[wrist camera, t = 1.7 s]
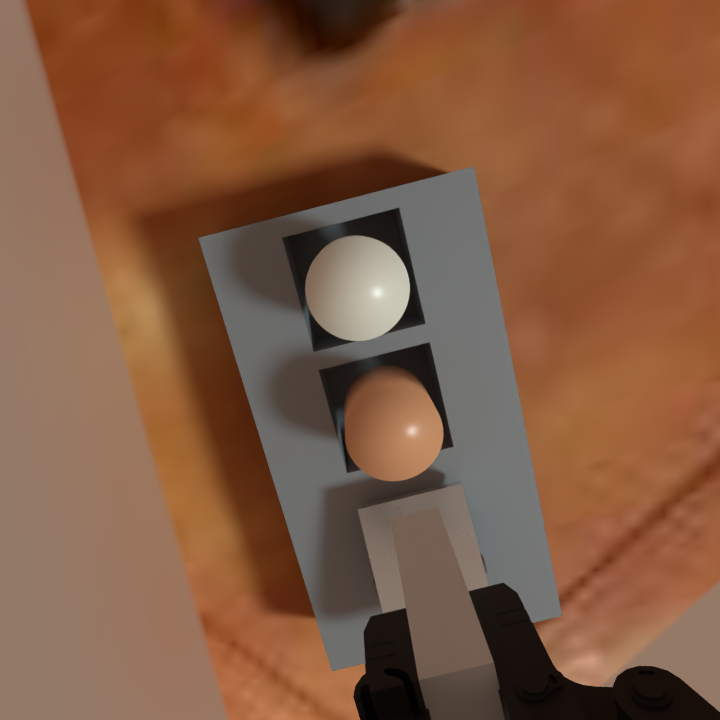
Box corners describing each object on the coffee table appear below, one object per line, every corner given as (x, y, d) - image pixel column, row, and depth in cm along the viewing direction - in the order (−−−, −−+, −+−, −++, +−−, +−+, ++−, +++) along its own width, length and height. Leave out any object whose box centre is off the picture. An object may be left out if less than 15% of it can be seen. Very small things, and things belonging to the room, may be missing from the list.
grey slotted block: (217, 236, 33) (192, 238, 27) (455, 174, 32) (479, 163, 27) (332, 620, 39) (331, 686, 33) (536, 571, 38) (569, 629, 33)
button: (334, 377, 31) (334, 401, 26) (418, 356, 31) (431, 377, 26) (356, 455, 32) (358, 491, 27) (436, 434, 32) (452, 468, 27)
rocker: (355, 504, 32) (353, 510, 30) (461, 478, 32) (465, 482, 30) (395, 670, 31) (396, 685, 29) (504, 644, 31) (511, 657, 29)
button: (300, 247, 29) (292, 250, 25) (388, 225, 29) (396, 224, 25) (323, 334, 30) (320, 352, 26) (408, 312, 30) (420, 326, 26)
